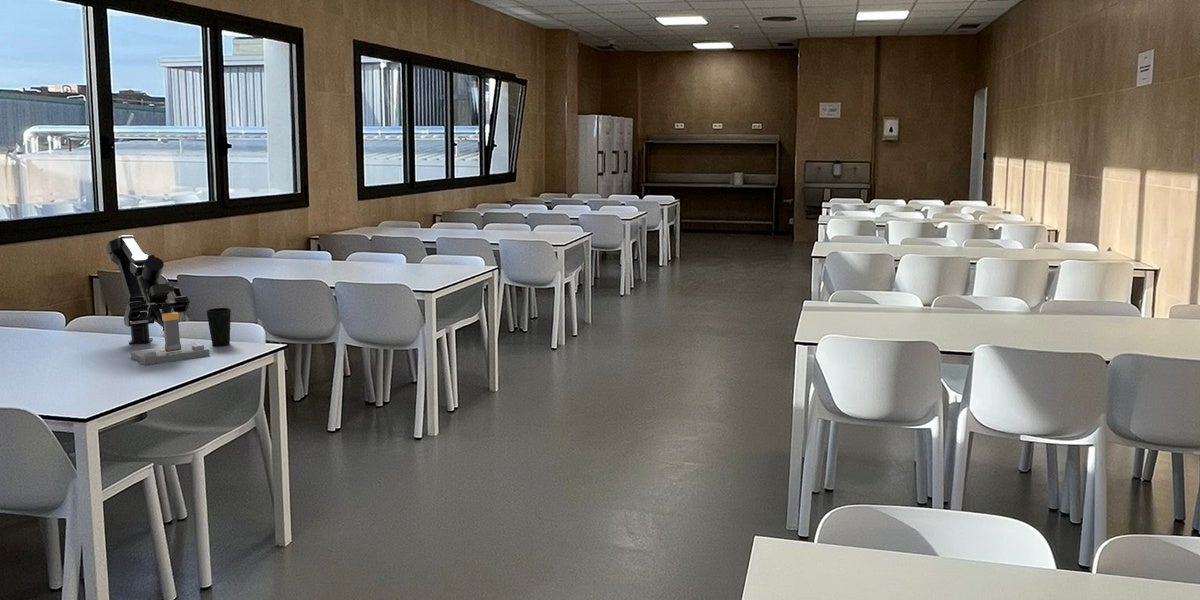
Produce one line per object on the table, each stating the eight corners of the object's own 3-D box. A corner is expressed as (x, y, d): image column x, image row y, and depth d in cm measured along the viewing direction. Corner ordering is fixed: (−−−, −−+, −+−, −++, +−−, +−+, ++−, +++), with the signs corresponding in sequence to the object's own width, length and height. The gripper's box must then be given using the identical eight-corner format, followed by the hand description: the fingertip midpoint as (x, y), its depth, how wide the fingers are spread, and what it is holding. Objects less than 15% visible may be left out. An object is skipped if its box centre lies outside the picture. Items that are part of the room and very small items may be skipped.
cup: (204, 345, 349) (201, 310, 347) (221, 341, 356) (219, 307, 354) (220, 348, 345) (217, 312, 343) (238, 343, 352) (235, 308, 350)
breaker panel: (131, 357, 332) (130, 347, 331) (194, 348, 345) (193, 339, 344) (145, 365, 322) (144, 355, 321) (209, 355, 334) (209, 345, 334)
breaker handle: (164, 351, 330) (161, 313, 328) (179, 349, 333) (176, 312, 331) (167, 352, 328) (164, 314, 326) (181, 350, 331) (178, 313, 329)
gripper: (125, 277, 328) (139, 316, 322) (185, 271, 340) (200, 308, 334) (120, 298, 336) (134, 337, 329) (179, 292, 348) (193, 329, 341)
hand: (165, 327), depth 333 cm, fingers closed
